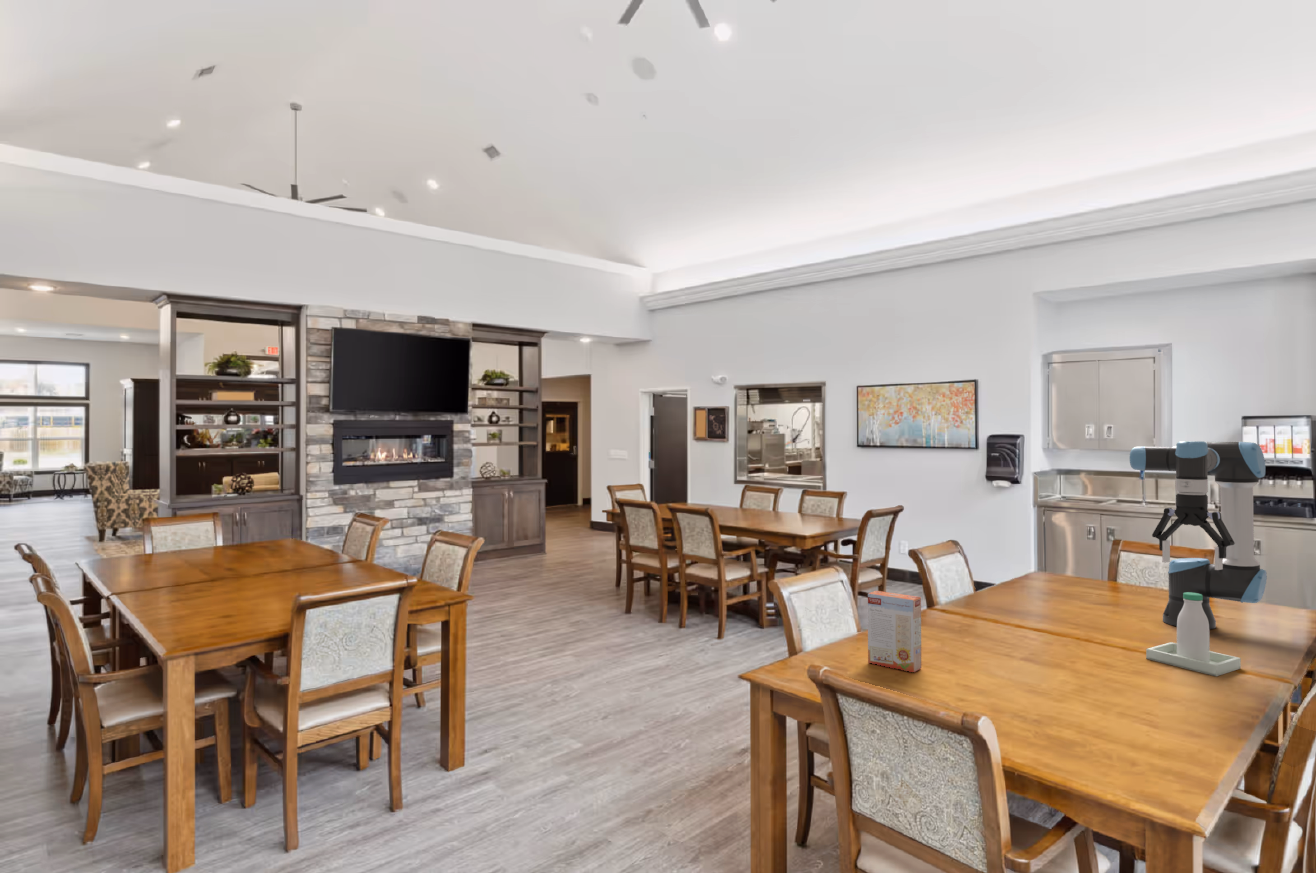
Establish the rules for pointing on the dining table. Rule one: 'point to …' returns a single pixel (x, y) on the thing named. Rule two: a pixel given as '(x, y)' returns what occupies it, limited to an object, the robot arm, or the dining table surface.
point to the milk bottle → (1193, 629)
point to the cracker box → (894, 630)
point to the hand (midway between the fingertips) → (1191, 565)
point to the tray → (1215, 666)
